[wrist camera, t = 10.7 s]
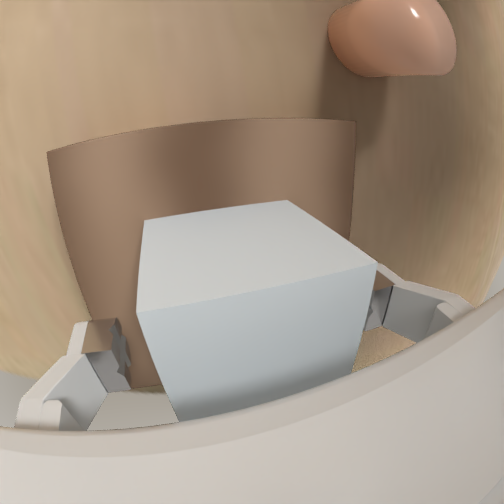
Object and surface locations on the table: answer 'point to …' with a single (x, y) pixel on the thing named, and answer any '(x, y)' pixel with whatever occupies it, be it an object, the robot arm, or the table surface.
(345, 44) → the peach rounded block
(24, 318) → the table surface
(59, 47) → the table surface
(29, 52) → the table surface
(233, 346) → the white cube
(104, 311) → the walnut plinth
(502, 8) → the table surface
